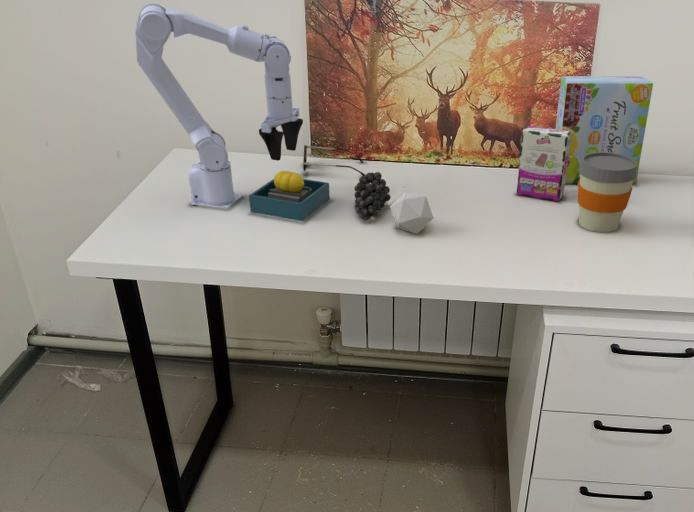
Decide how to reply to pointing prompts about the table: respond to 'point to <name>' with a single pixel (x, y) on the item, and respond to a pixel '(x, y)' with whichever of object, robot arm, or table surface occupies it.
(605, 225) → the reusable coffee cup
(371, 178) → the fruit
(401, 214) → the die
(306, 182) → the crate
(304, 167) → the sunglasses
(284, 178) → the lemon
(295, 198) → the grey block
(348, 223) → the table surface
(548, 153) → the candy bar box
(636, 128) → the snack box
